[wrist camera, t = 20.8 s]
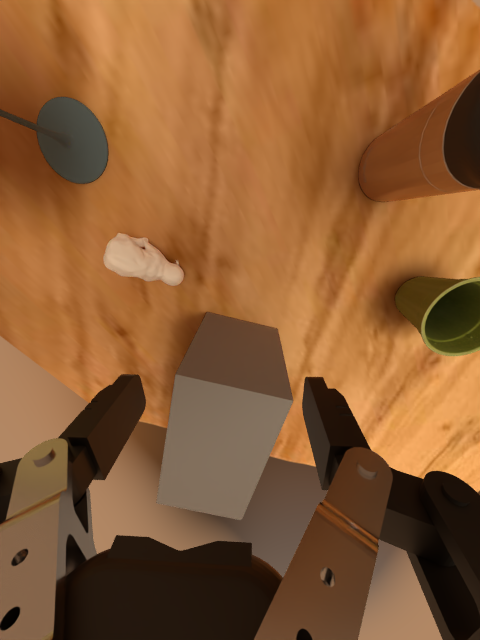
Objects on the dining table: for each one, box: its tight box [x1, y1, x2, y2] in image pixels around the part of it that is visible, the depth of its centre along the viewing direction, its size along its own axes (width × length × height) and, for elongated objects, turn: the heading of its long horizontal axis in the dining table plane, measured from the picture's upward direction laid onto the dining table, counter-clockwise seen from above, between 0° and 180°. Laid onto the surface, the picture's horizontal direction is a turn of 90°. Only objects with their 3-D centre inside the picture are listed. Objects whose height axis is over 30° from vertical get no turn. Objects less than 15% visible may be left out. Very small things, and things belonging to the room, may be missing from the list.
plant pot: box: [395, 277, 480, 356], centre depth 37 cm, size 12×12×11 cm
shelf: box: [156, 312, 293, 520], centre depth 42 cm, size 14×27×20 cm, turn 167°
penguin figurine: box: [103, 233, 184, 286], centre depth 38 cm, size 6×8×12 cm
